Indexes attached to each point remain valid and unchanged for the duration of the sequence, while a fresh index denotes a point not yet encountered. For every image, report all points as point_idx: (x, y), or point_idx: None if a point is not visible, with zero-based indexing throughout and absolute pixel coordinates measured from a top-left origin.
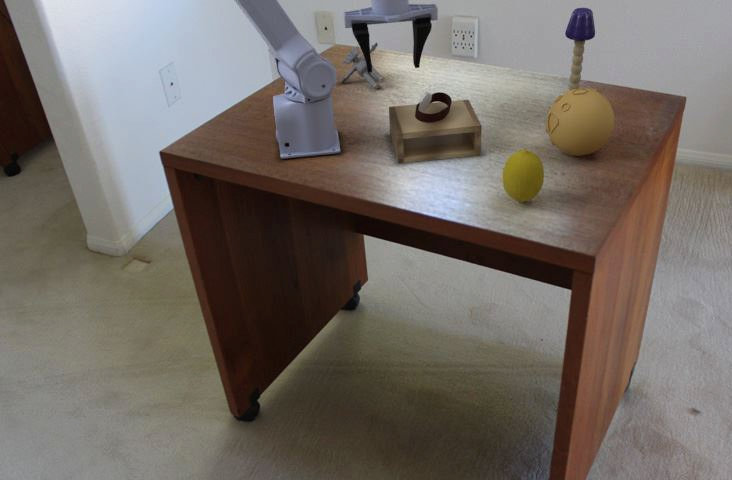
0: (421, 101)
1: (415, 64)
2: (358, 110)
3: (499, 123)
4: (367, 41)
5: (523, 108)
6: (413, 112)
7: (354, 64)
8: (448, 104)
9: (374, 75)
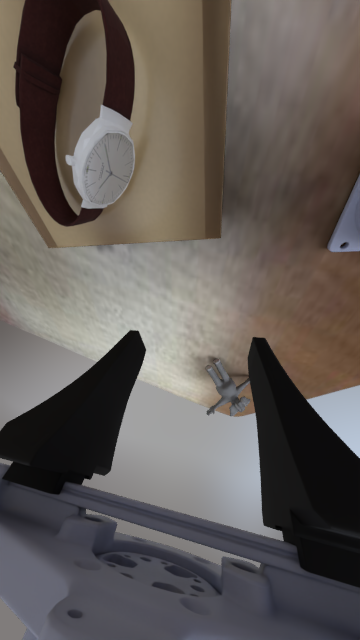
0: (96, 120)
1: (133, 336)
2: (253, 319)
3: None
4: (301, 449)
5: (35, 280)
6: (155, 182)
7: (237, 394)
8: (60, 197)
9: (216, 375)
